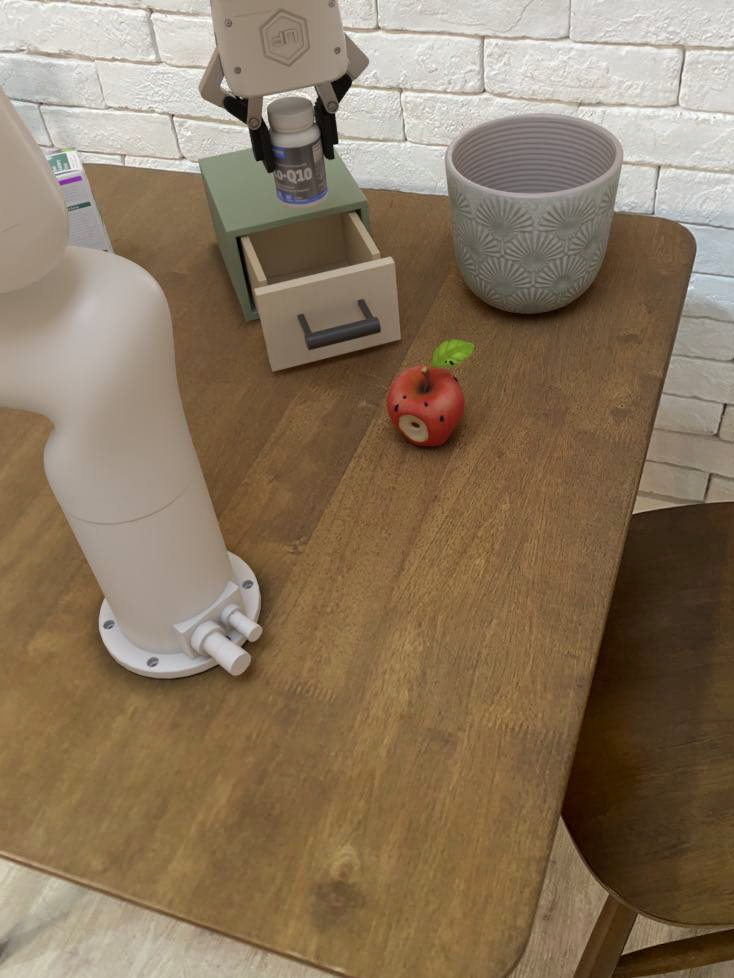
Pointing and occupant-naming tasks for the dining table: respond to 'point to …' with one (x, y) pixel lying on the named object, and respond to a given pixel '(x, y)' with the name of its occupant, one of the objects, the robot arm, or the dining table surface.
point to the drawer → (320, 289)
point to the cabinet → (265, 206)
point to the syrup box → (79, 201)
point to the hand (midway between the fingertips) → (297, 157)
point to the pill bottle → (297, 153)
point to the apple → (429, 397)
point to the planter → (532, 207)
